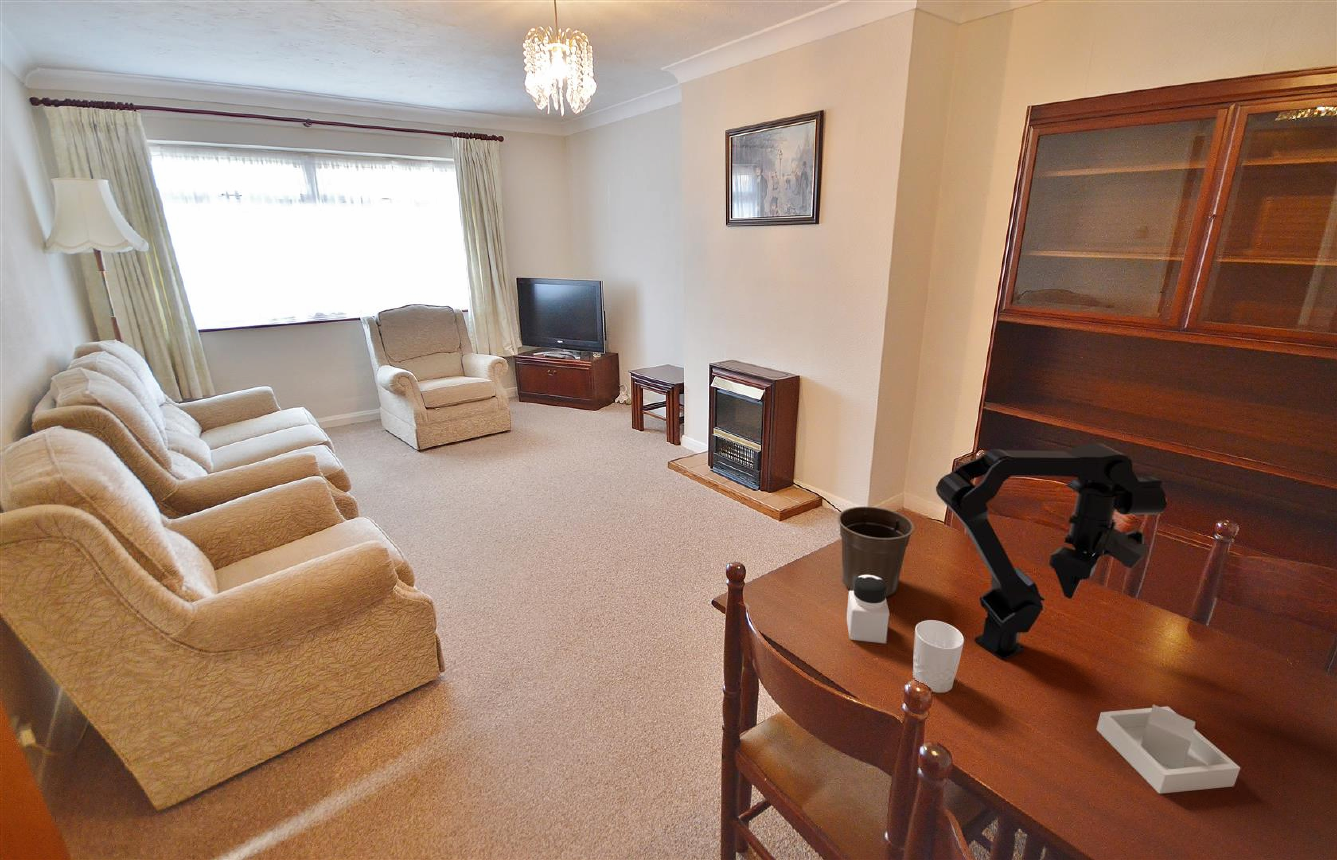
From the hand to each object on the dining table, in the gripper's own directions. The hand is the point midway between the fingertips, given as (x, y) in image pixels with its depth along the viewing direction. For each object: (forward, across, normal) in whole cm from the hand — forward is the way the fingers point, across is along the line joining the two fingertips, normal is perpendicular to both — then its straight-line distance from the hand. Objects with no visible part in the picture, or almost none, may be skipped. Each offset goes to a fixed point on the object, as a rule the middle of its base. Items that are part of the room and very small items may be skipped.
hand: (1076, 588), depth 110 cm
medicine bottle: (+13, -24, +28) cm, 40 cm away
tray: (+13, -18, -18) cm, 29 cm away
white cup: (+13, -28, +13) cm, 33 cm away
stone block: (+12, -18, -18) cm, 29 cm away
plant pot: (+13, -8, +37) cm, 40 cm away
